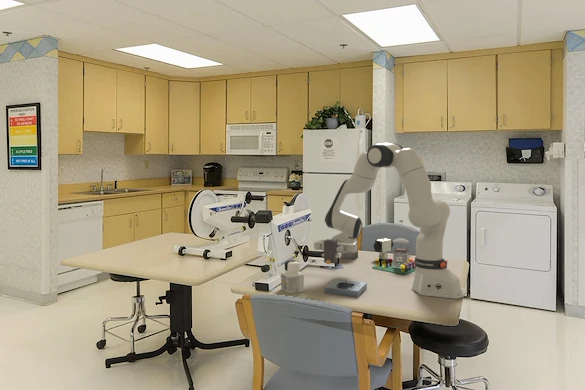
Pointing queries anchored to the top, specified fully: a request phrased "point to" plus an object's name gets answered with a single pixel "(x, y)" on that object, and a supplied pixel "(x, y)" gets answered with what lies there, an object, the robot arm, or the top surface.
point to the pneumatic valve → (383, 247)
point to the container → (292, 277)
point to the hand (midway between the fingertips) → (330, 249)
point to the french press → (403, 252)
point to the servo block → (330, 251)
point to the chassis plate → (352, 287)
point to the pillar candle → (350, 254)
